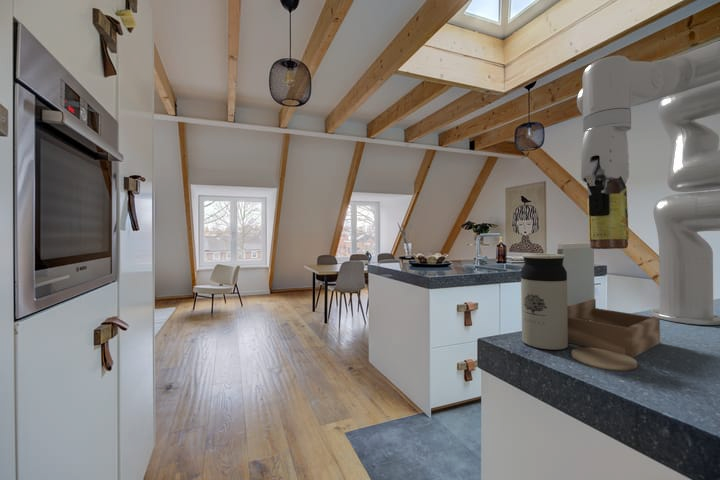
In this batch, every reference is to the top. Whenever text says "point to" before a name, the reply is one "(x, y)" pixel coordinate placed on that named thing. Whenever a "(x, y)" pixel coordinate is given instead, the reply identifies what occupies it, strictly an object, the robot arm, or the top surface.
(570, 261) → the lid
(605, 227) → the sauce bottle
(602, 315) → the wooden open box
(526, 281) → the stoneware storage canister
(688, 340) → the top surface
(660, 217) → the robot arm
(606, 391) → the top surface
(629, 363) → the disc
